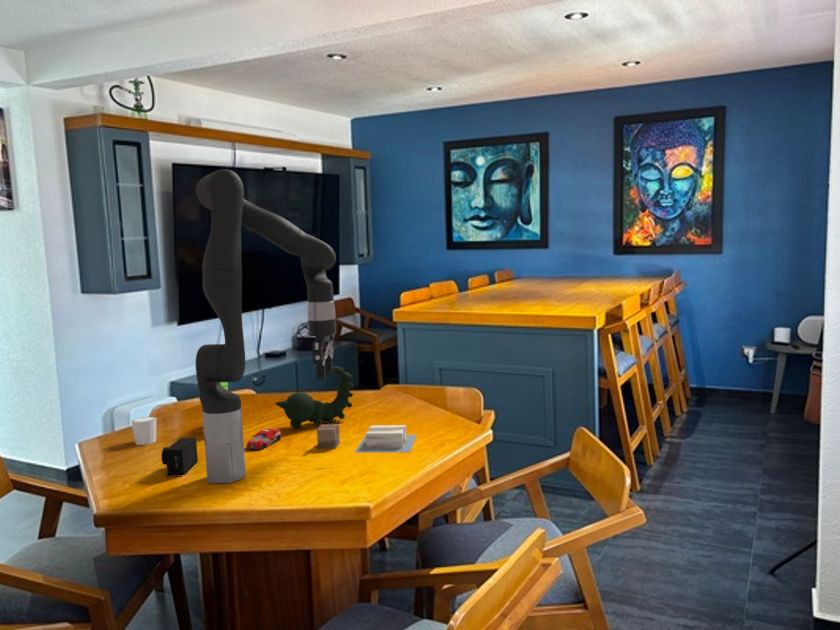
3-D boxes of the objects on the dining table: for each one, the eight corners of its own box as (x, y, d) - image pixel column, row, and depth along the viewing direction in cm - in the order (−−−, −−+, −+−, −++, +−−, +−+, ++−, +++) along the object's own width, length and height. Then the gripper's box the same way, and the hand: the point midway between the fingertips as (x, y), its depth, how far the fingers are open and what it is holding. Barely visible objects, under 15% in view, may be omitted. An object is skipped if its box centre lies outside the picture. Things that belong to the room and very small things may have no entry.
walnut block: (335, 450, 190) (334, 429, 190) (318, 450, 191) (316, 429, 190) (339, 445, 195) (338, 424, 195) (322, 445, 196) (321, 424, 195)
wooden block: (402, 447, 189) (402, 433, 188) (366, 447, 190) (365, 433, 189) (406, 438, 197) (405, 425, 196) (371, 439, 198) (371, 425, 197)
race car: (260, 452, 192) (259, 438, 192) (243, 451, 194) (242, 437, 194) (285, 438, 205) (284, 425, 204) (269, 437, 206) (268, 424, 206)
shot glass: (162, 441, 206) (160, 418, 205) (139, 447, 201) (137, 423, 200) (151, 437, 210) (149, 415, 210) (129, 443, 206) (127, 419, 205)
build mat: (410, 454, 185) (410, 452, 185) (354, 454, 186) (354, 452, 186) (416, 436, 200) (416, 434, 200) (365, 437, 202) (365, 435, 202)
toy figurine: (343, 420, 228) (269, 426, 215) (345, 363, 227) (271, 366, 214) (355, 427, 220) (279, 433, 207) (357, 367, 219) (281, 370, 206)
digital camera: (177, 463, 185) (175, 437, 184) (198, 462, 185) (196, 437, 184) (162, 476, 174) (160, 449, 174) (183, 476, 174) (181, 449, 173)
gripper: (329, 320, 182) (332, 381, 184) (340, 314, 196) (343, 370, 198) (301, 321, 183) (304, 381, 185) (314, 314, 197) (318, 371, 199)
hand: (324, 376), depth 191 cm, fingers open, 8 cm apart
